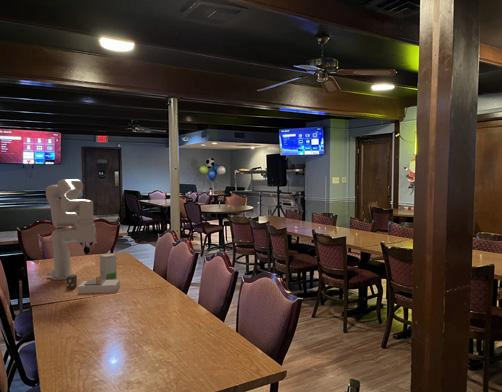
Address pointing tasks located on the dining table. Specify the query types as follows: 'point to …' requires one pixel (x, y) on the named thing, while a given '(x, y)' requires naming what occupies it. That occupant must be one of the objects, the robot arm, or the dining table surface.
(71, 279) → the plug
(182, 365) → the dining table surface
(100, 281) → the shutter
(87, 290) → the socket block
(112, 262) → the skincare box
